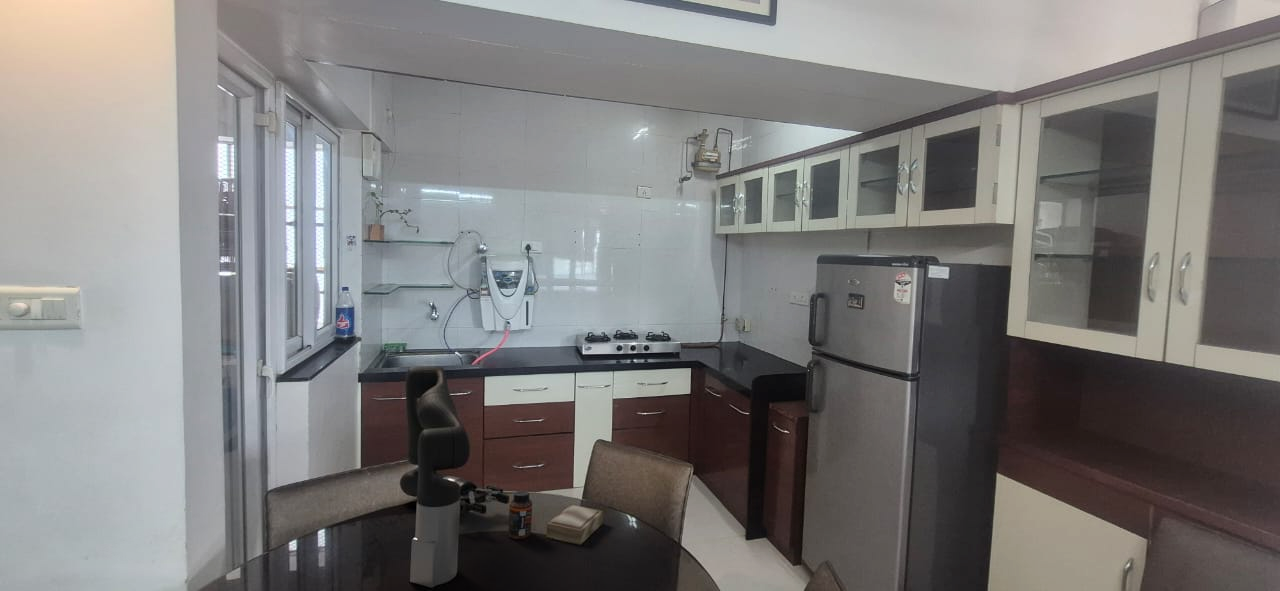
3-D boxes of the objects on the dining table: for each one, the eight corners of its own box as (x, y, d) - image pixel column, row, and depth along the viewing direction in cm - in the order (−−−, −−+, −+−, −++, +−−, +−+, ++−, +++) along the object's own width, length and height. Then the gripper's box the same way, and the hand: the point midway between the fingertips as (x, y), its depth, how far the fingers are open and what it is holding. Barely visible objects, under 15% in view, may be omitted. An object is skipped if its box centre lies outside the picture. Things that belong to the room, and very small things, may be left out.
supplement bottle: (528, 540, 138) (530, 497, 138) (505, 539, 138) (507, 496, 138) (533, 530, 144) (535, 489, 144) (511, 529, 144) (513, 488, 144)
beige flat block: (580, 544, 137) (581, 529, 137) (546, 537, 141) (547, 522, 141) (602, 523, 150) (602, 509, 150) (570, 517, 154) (571, 503, 154)
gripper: (436, 485, 147) (478, 499, 139) (475, 472, 160) (516, 483, 152) (435, 512, 147) (476, 527, 139) (474, 497, 160) (514, 510, 152)
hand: (497, 504), depth 145 cm, fingers open, 8 cm apart
